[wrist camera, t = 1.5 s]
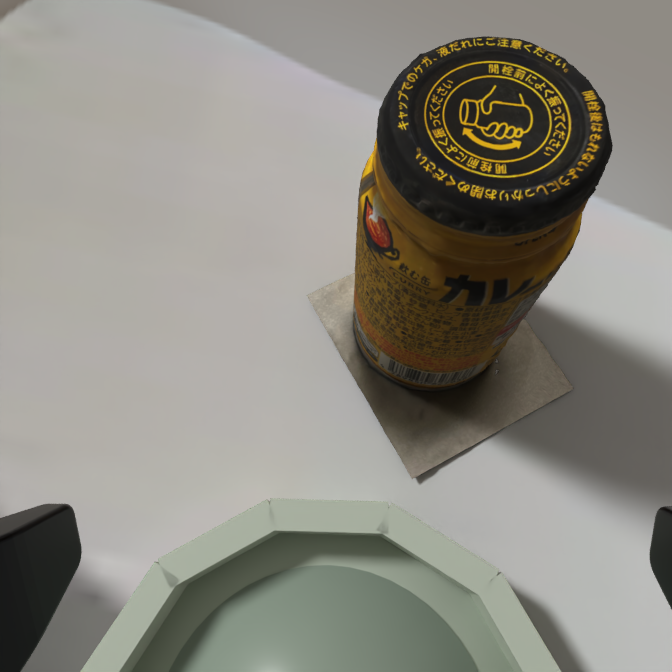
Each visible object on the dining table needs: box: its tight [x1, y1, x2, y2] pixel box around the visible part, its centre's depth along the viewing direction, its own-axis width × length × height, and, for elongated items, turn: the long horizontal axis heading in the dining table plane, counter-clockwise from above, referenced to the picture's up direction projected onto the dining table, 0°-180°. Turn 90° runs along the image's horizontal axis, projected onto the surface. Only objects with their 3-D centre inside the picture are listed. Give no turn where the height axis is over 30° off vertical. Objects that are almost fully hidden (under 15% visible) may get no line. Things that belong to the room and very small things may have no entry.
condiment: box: [307, 37, 612, 479], centre depth 18 cm, size 7×8×12 cm
